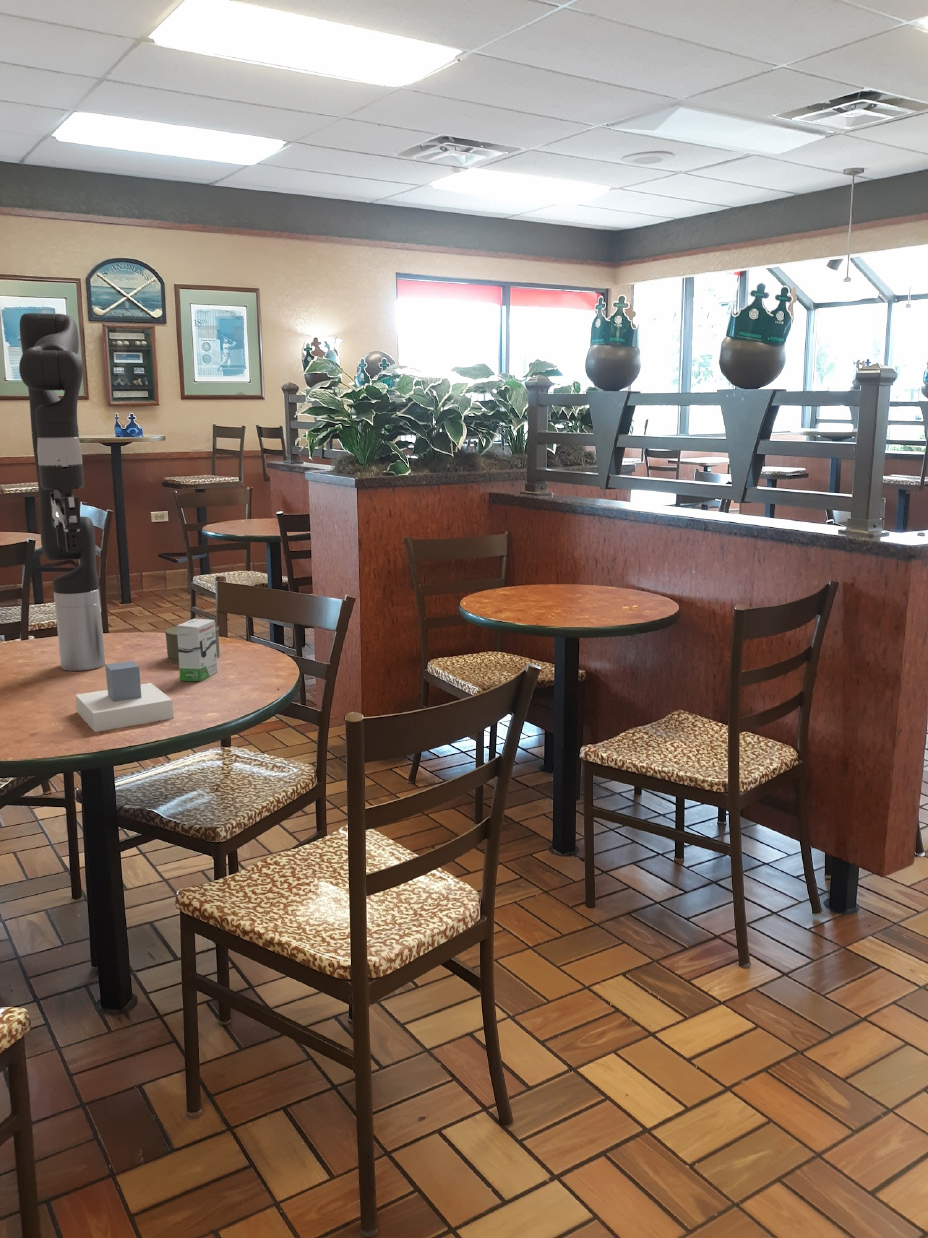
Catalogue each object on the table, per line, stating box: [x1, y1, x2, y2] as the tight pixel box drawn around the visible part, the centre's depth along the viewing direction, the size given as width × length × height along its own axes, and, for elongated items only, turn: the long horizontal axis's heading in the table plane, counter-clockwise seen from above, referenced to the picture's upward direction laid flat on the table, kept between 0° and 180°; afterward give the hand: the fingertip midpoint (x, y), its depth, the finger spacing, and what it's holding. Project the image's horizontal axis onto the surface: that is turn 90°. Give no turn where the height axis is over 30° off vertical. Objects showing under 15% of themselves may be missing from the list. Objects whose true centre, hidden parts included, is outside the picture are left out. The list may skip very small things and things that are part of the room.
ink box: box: [176, 618, 218, 682], centre depth 205 cm, size 9×5×12 cm, turn 168°
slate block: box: [104, 660, 142, 702], centre depth 179 cm, size 5×5×6 cm
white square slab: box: [75, 682, 175, 733], centre depth 180 cm, size 14×14×4 cm
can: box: [164, 624, 221, 665], centre depth 221 cm, size 12×12×7 cm
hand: (68, 549), depth 181 cm, fingers open, 8 cm apart
